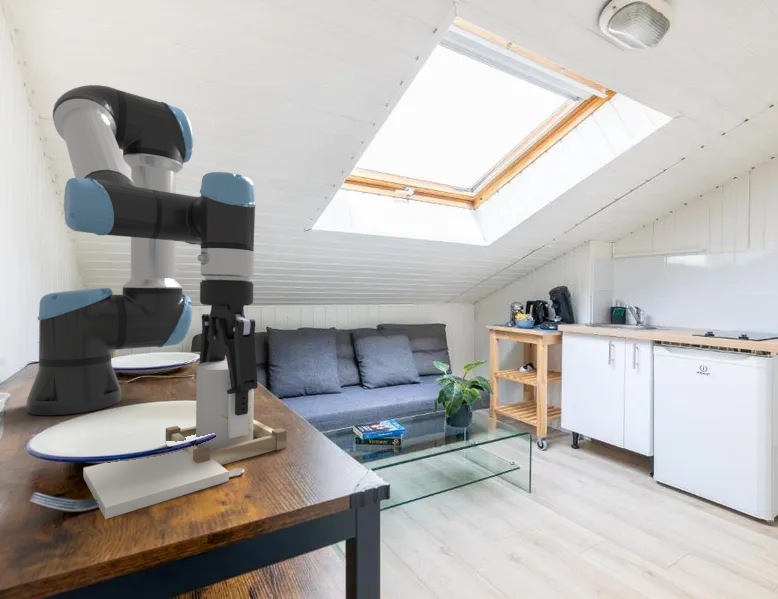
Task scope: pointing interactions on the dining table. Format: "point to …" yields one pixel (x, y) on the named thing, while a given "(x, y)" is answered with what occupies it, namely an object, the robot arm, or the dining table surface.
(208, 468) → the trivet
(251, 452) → the square wooden frame
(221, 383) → the cup
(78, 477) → the dining table surface
